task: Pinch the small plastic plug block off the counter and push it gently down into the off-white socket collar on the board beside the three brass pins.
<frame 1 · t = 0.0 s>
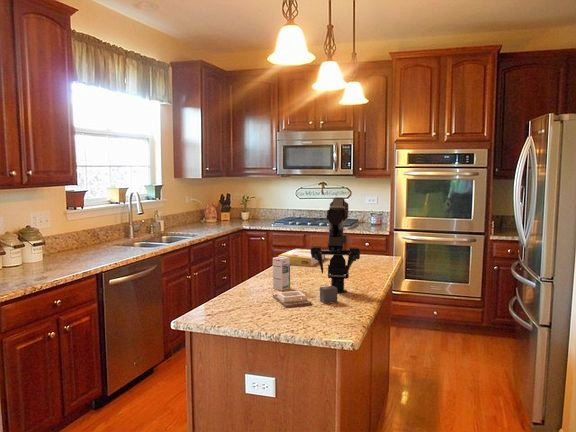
hand: (334, 273, 176), 15 cm above the countertop, tool tilted 35°, fingers open, 9 cm apart
socket board: (291, 301, 193), on the countertop
plug block: (328, 301, 192), on the countertop
cereal box: (302, 262, 278), on the countertop
syrup box: (281, 288, 213), on the countertop
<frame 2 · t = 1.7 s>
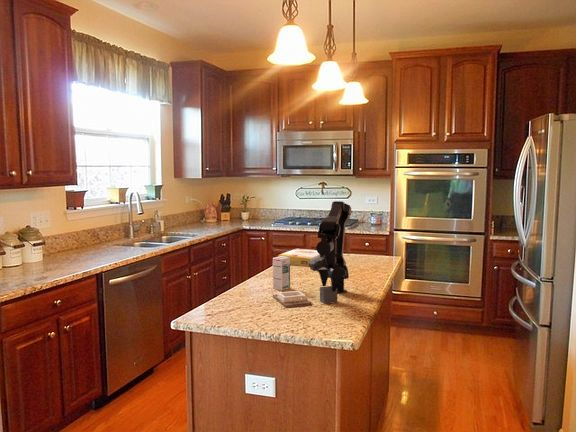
hand: (328, 288, 191), 5 cm above the countertop, tool pointing down, fingers open, 9 cm apart
nothing on the countertop moved.
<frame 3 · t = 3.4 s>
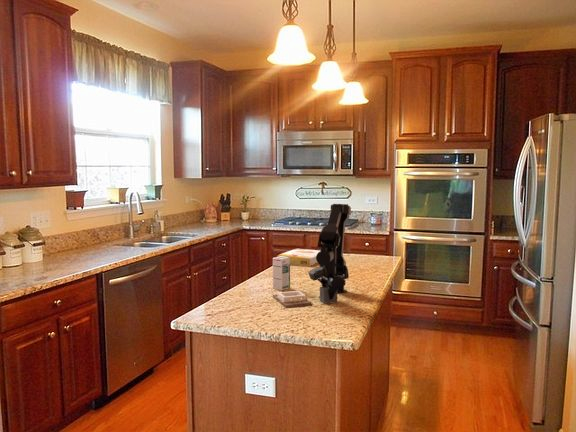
hand: (328, 298, 192), 2 cm above the countertop, tool pointing down, fingers closed on plug block, 4 cm apart
plug block: (328, 301, 192), on the countertop, touching gripper
everything else where it was.
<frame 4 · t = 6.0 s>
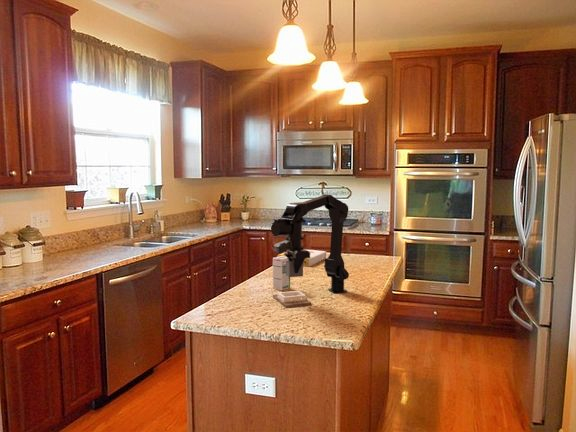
hand: (294, 272, 191), 12 cm above the countertop, tool pointing down, fingers closed on plug block, 4 cm apart
plug block: (294, 275, 191), point 11 cm above the countertop, touching gripper
everything else where it was.
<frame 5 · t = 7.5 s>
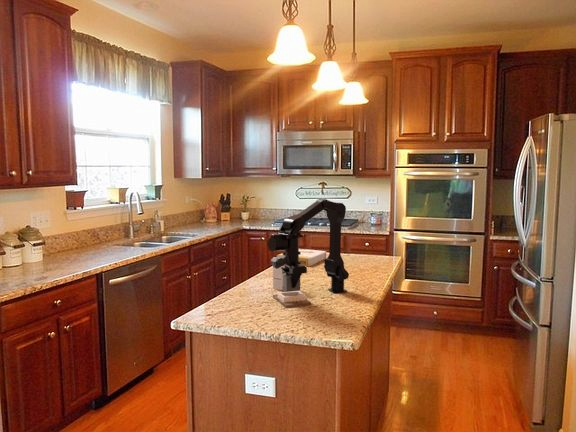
hand: (291, 286, 192), 6 cm above the countertop, tool pointing down, fingers closed on plug block, 4 cm apart
plug block: (291, 290, 192), point 5 cm above the countertop, touching gripper
everything else where it was.
when the fingers open (4 cm above the countertop, at t = 8.8 s): plug block drops 1 cm, resting on socket board.
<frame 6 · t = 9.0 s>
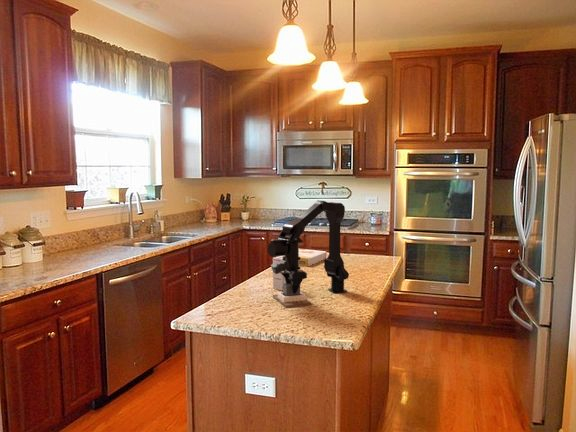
hand: (291, 291, 192), 4 cm above the countertop, tool pointing down, fingers open, 6 cm apart
plug block: (291, 298, 192), point 1 cm above the countertop, touching socket board
everything else where it was.
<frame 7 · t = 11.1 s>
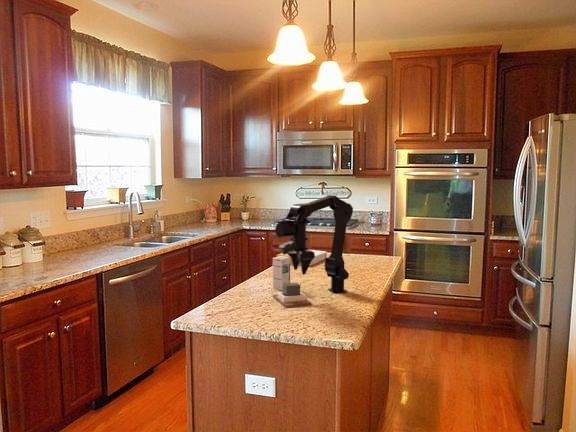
hand: (299, 272, 194), 12 cm above the countertop, tool pointing down, fingers open, 9 cm apart
nothing on the countertop moved.
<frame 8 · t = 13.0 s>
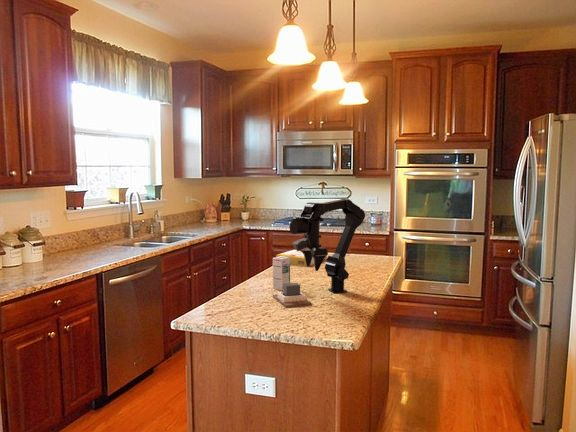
hand: (312, 268, 199), 12 cm above the countertop, tool pointing down, fingers open, 9 cm apart
at the end: plug block 0.0 cm off-centre on the socket board, point 1.0 cm above the socket board's base; plug block tilted 0°; the gripper is holding nothing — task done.
